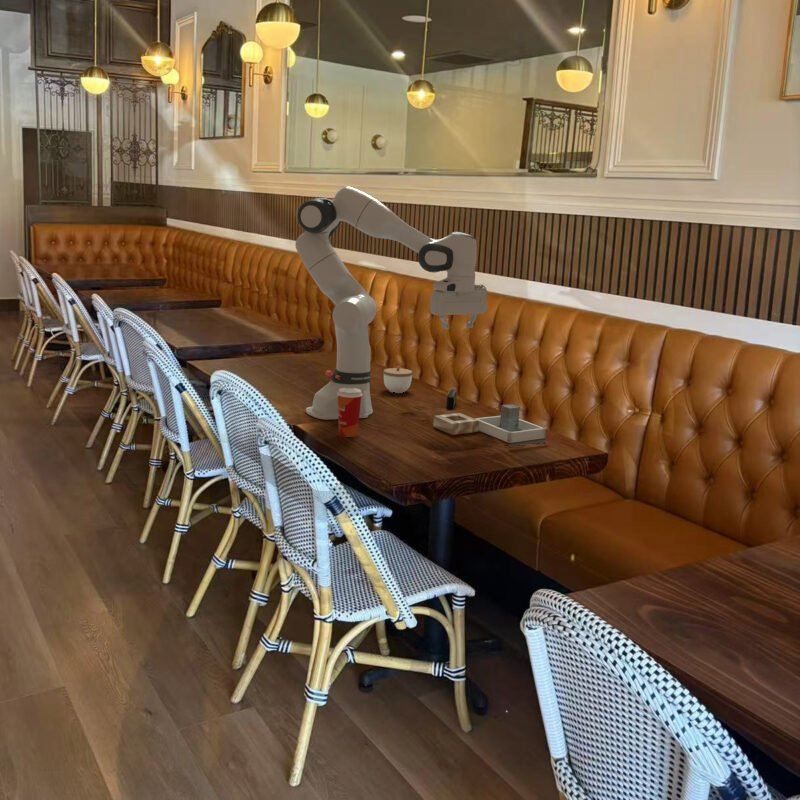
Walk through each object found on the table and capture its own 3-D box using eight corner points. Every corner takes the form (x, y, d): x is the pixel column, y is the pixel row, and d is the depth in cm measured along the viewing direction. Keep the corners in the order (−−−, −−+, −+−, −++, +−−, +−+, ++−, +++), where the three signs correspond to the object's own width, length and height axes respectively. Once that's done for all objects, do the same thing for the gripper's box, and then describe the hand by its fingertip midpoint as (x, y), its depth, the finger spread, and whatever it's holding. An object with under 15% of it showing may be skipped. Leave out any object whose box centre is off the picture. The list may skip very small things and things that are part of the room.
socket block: (451, 439, 265) (452, 423, 264) (433, 431, 274) (433, 415, 272) (477, 436, 271) (478, 420, 269) (458, 428, 279) (459, 412, 278)
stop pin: (507, 436, 268) (509, 408, 266) (499, 433, 271) (501, 405, 269) (517, 435, 270) (519, 407, 268) (509, 432, 273) (511, 404, 271)
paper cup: (335, 431, 268) (336, 386, 264) (360, 432, 268) (362, 387, 265) (335, 438, 260) (337, 392, 257) (361, 439, 261) (363, 393, 258)
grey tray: (508, 447, 260) (510, 433, 259) (472, 432, 274) (473, 418, 273) (544, 442, 267) (545, 428, 266) (507, 428, 282) (508, 414, 281)
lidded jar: (399, 395, 319) (401, 370, 317) (376, 390, 325) (377, 366, 323) (417, 391, 327) (418, 367, 325) (394, 386, 333) (395, 362, 331)
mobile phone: (455, 397, 301) (457, 386, 315) (446, 396, 301) (449, 386, 315) (454, 411, 302) (456, 400, 316) (445, 410, 302) (448, 399, 317)
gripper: (480, 283, 283) (477, 325, 286) (428, 283, 272) (425, 327, 276) (492, 285, 278) (489, 328, 281) (440, 286, 267) (437, 331, 270)
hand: (457, 328), depth 278 cm, fingers open, 8 cm apart
